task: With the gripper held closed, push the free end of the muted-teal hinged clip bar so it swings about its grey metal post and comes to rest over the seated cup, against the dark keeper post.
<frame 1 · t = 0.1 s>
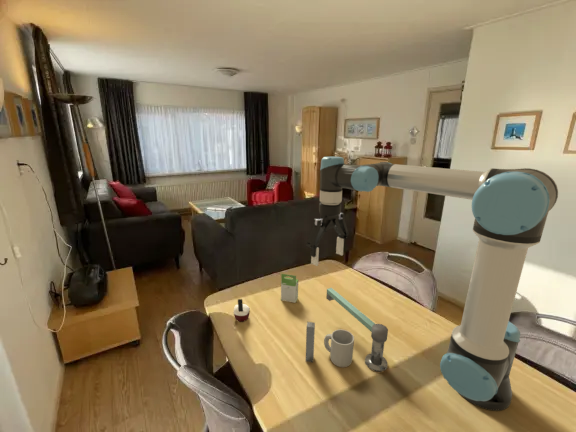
hand: (327, 259, 103), 28 cm above the table, fingers open, 13 cm apart
ink box: (289, 300, 127), on the table
clip bar: (353, 313, 100), point 11 cm above the table, hinge at -15.0°
cocoa: (241, 319, 113), on the table
pivot post: (376, 363, 92), on the table
cup: (337, 358, 94), on the table
keeper post: (309, 359, 94), on the table
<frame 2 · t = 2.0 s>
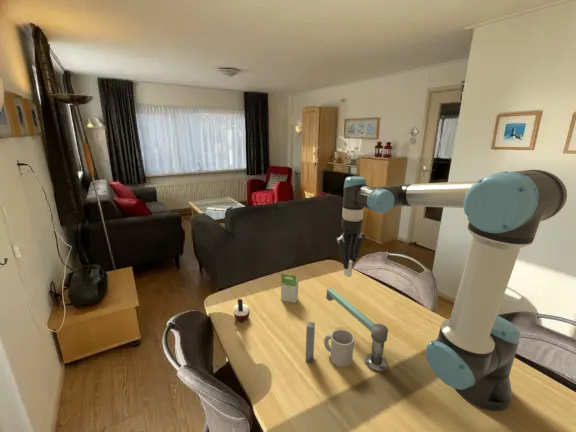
hand: (347, 275, 112), 18 cm above the table, fingers closed
nothing on the table moved.
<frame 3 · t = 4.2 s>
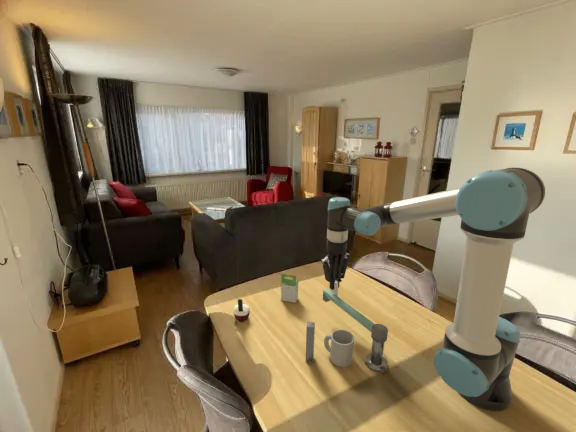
hand: (333, 295, 110), 11 cm above the table, fingers closed
clip bar: (351, 313, 100), point 11 cm above the table, hinge at -11.2°, touching gripper
everything else where it was.
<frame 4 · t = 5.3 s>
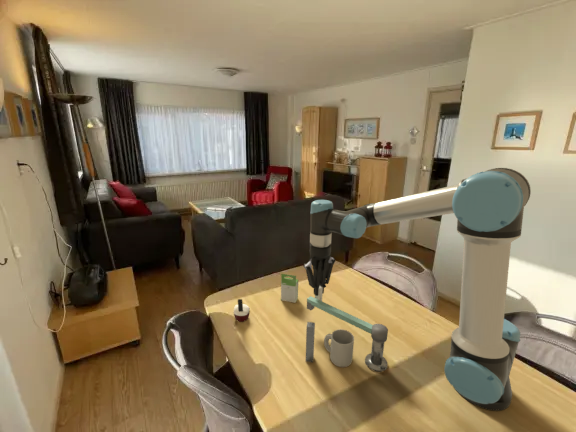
hand: (318, 301, 107), 11 cm above the table, fingers closed
clip bar: (343, 318, 97), point 11 cm above the table, hinge at 7.3°, touching gripper
everything else where it was.
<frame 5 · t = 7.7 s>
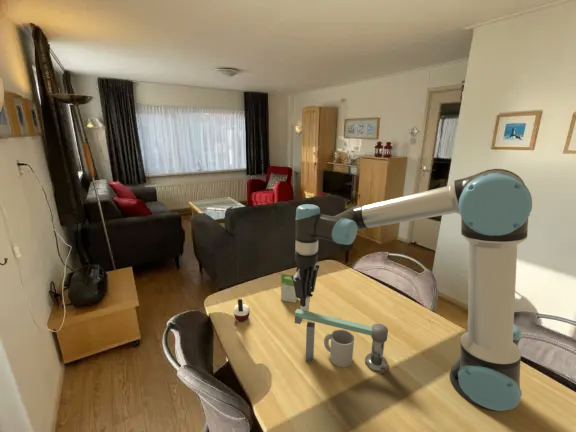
hand: (304, 312, 100), 11 cm above the table, fingers closed
clip bar: (338, 325, 93), point 11 cm above the table, hinge at 27.3°, touching gripper
everything else where it was.
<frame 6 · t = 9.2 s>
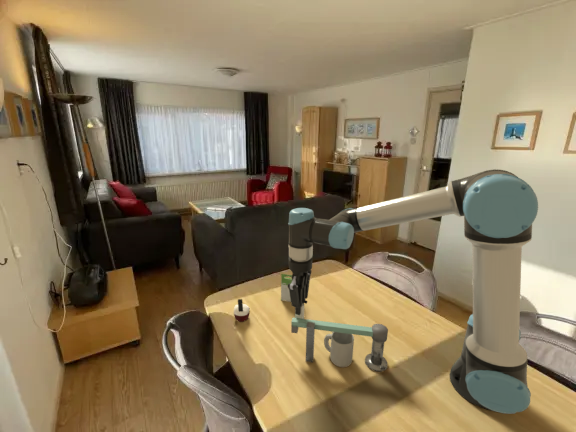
hand: (299, 320, 96), 11 cm above the table, fingers closed
clip bar: (338, 330, 91), point 11 cm above the table, hinge at 37.9°, touching gripper
everything else where it was.
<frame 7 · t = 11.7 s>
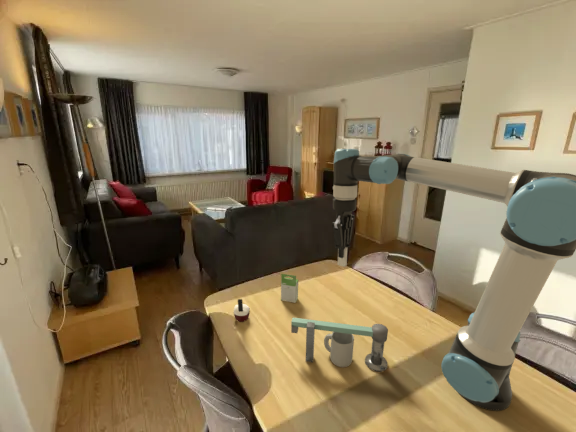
hand: (342, 264, 97), 28 cm above the table, fingers closed
clip bar: (338, 330, 91), point 11 cm above the table, hinge at 37.9°
everything else where it was.
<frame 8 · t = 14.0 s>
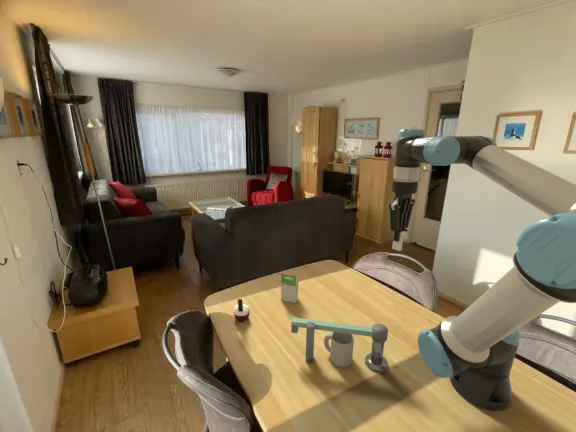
hand: (396, 249, 96), 34 cm above the table, fingers closed
nothing on the table moved.
at the end: clip bar at +38° (first picture: -15°); cup moved 0.2 cm from its start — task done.
